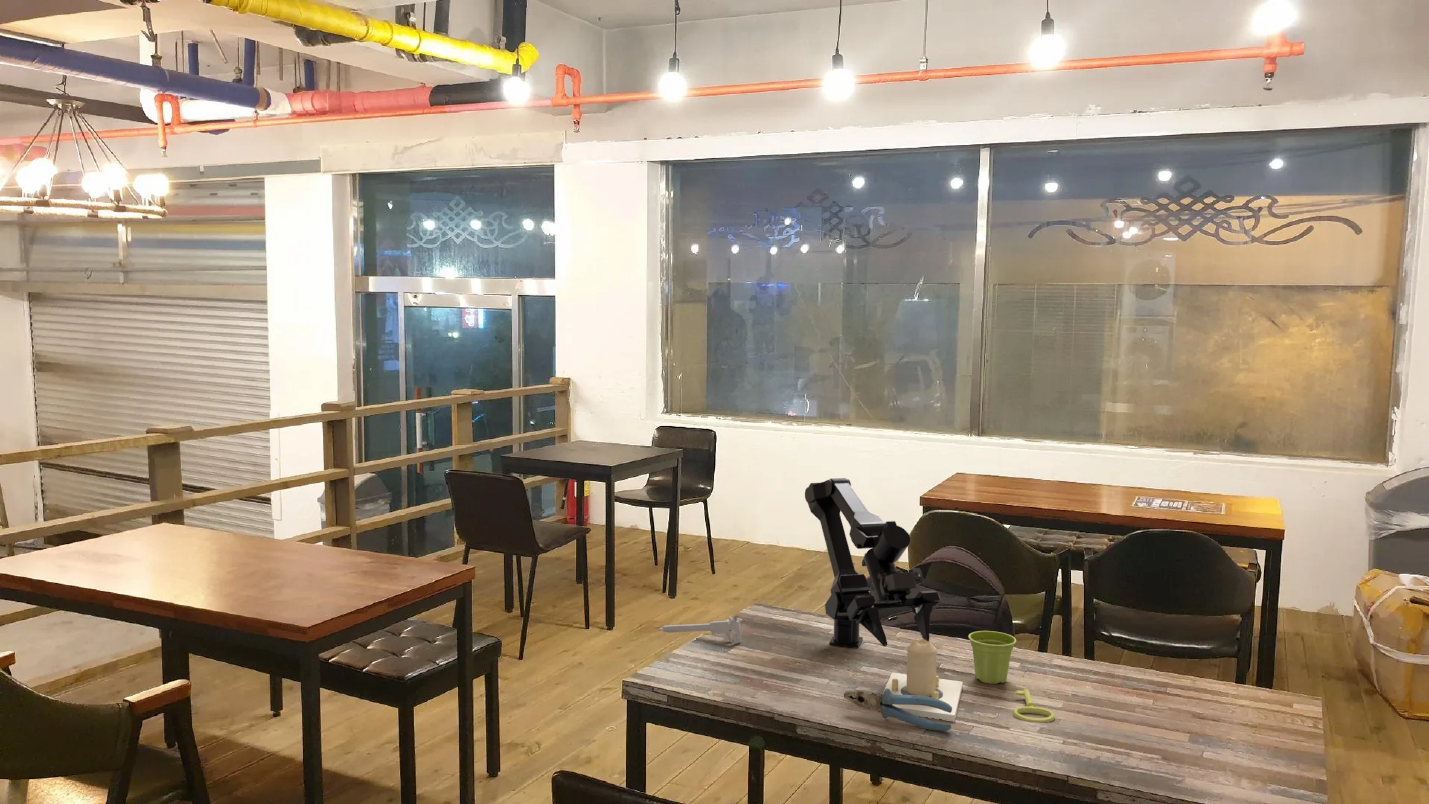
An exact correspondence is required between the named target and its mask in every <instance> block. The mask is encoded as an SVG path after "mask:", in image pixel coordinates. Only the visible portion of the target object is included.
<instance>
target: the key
mask: <svg viewBox="0 0 1429 804" xmlns="http://www.w3.org/2000/svg"><path fill="white" fill-rule="evenodd" d="M1014 692H1015V695H1016V696H1023V697H1024V700H1025V704H1026V705H1025V706H1018V707H1015V708H1014V710H1013V714H1012V715H1013V717H1014V718H1015V719H1018V720H1021V721H1026V722H1031V723H1050V722H1053V721H1055V714H1054V712H1053V711H1051V710H1050V709H1047V708H1043V707H1037V705H1036V703H1034V702H1033V699H1032V696H1031V693H1030V690H1029V689H1028V688H1025V689H1023V690H1019V689H1018V690H1015V691H1014ZM1023 714H1036V715H1043V716H1046V717H1042V718H1036V717H1030V716H1025V715H1023Z"/></svg>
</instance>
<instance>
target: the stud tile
mask: <svg viewBox="0 0 1429 804" xmlns="http://www.w3.org/2000/svg"><path fill="white" fill-rule="evenodd" d="M890 674H891V675H890V677H889V678H888V681H887V683H886V686H885V688H884V690H883V693H884V691H885V689H886V688H888V689H889V690H890V691H891V693H892V694H895V695H911V694H909V693H908V692H907V673H906V674H905V673H899V672H897V673H896V672H891V673H890ZM963 684H964V683H963V681H960V680H952V679H944V678H940V675H937V674H936V691H932V696H929V697H931V698H935V699H938V700H941V701H943V702H946V703H948V704H949V705H950V706H951V707H952V712H951V713H949V712H946V711H943V710H941V709H938V708H934V707H929V706H923V705H894V704H892V705H893V706H895V707H897V708H900V709H902V710H904V711H906V712H909V713H911V714H913V715H915V716H920V718H925V717H928V718H927V719H932V718H934V719H933V720H939V719H942V720H941V721H948V722H953V723H955V721H956V717H957V713H958V708H959V705H960V700H961V697H962V691H963ZM883 693H882V694H883Z"/></svg>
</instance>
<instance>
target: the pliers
mask: <svg viewBox="0 0 1429 804" xmlns="http://www.w3.org/2000/svg"><path fill="white" fill-rule="evenodd" d="M884 690H885V691H884ZM884 690H883V692H884V693H881V692H880V693H874V692H873V691H871V690H870V691H869V690H866V689H857V690H847V691H845V692H843V698H844V699H845V700H848V701H849V702H851V703H852V704H854V705H856V706H857V707H859V708H860V707H861V708H863V709H868V710H870V709H873V710H875V711H878V712H880V713H881V718H883V719H884V720H887V718H889V717H894V718H895V719H898V720H900V721H903V722H906V723H907V724H910V725H912V726H915V727H918V728H920V729H924V728H925V730H929V729H930V730H929V731H935V730H936V731H939V732H948V731H950V730H951V729H952V725H951V723H947V722H940V721H936V720H935V721H934V720H929V719H927V718H926V719H925V718H924V717H918V716H915V715H913V714H911V713H909V712H906V711H904V710H902V709H900V708H897V707H895V706H893V705H892V704H894V705H923V706H929V707H934V708H938V709H941V710H943V711H946V712H949V713H951V712H952V707H951V706H950V705H949V704H948V703H946V702H943V701H941V700H938V699H935V698H931V697H927V696H921V695H895V694H892V693H891V691H890V690H889V689H888V688H886V689H885V688H884ZM936 731H935V732H936Z"/></svg>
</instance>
